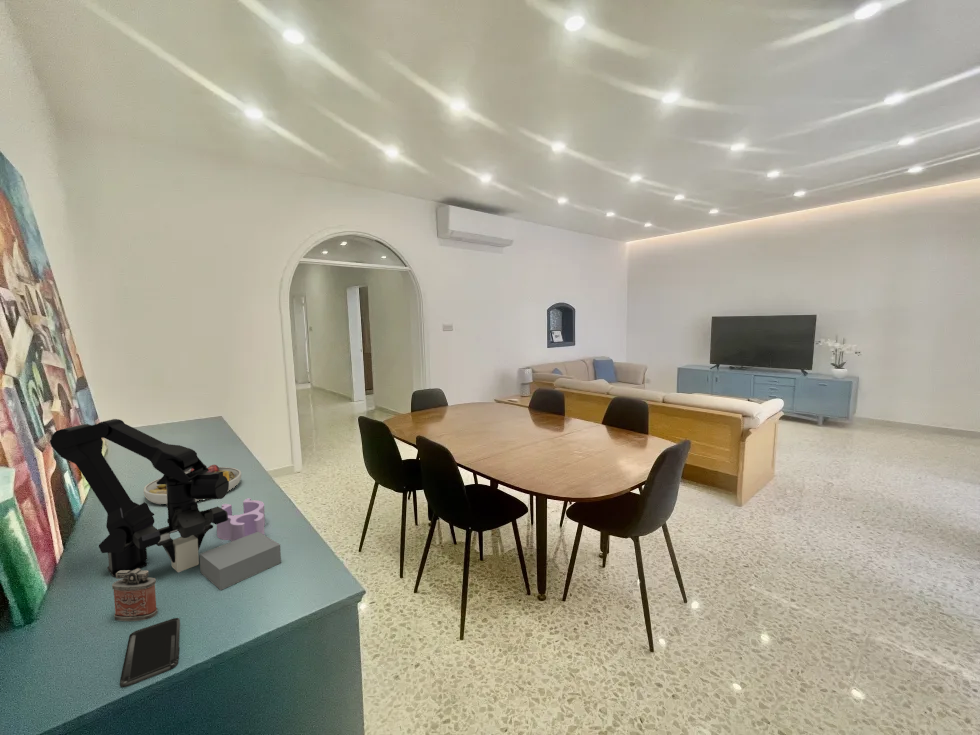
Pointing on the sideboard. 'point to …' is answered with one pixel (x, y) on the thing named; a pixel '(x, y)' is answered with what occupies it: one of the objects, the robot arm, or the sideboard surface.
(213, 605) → the sideboard surface
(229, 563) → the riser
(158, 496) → the bowl
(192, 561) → the block
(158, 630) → the phone
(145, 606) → the lighter
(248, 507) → the clip
